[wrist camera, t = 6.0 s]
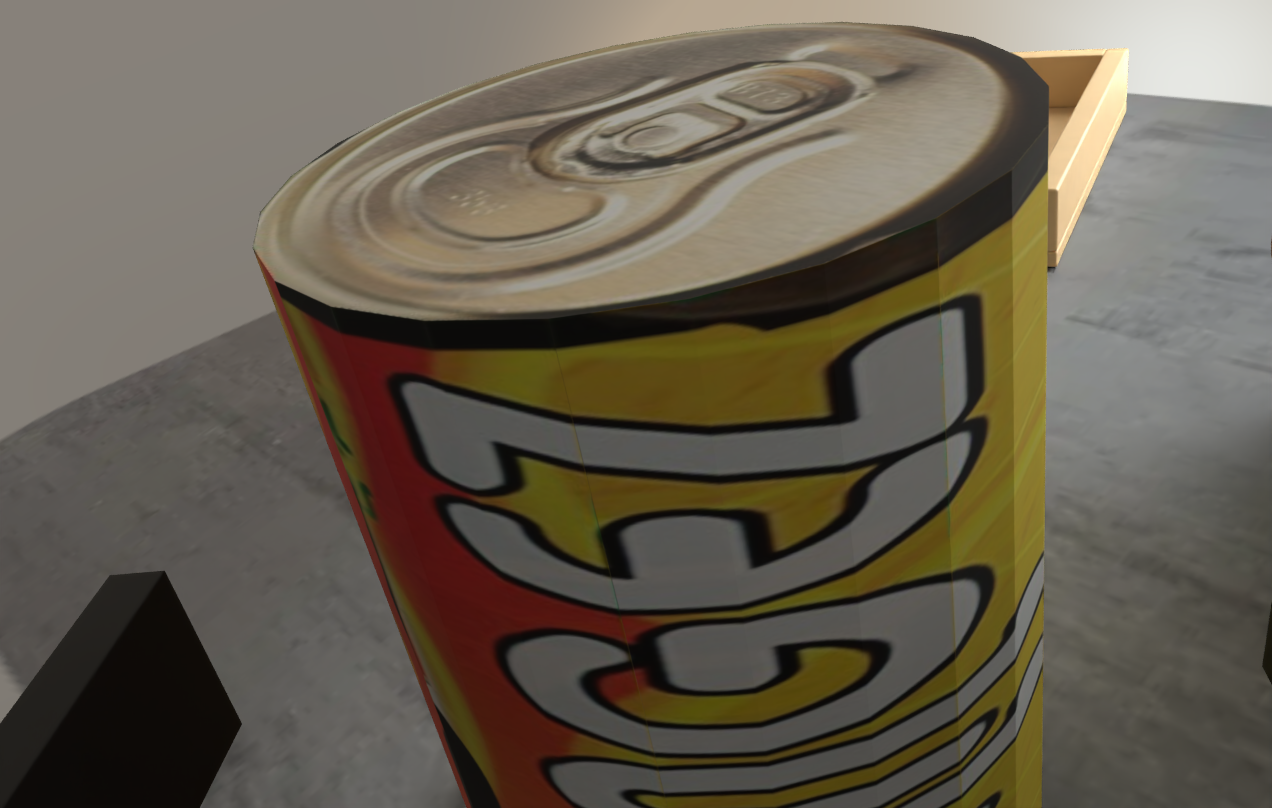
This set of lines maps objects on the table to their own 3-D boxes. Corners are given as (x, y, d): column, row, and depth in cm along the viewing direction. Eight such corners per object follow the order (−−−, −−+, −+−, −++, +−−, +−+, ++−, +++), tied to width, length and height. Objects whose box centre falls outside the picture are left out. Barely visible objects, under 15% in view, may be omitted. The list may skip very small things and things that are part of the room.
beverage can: (416, 805, 21) (161, 191, 15) (785, 569, 24) (704, 2, 18) (721, 1246, 14) (484, 445, 8) (1166, 826, 18) (1240, 63, 12)
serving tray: (659, 247, 40) (647, 182, 39) (796, 116, 50) (790, 60, 49) (1056, 267, 34) (1058, 189, 33) (1126, 112, 44) (1129, 47, 42)
